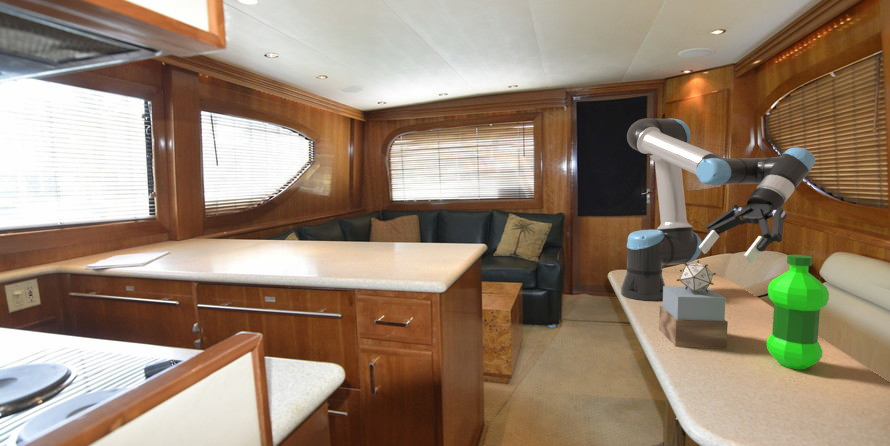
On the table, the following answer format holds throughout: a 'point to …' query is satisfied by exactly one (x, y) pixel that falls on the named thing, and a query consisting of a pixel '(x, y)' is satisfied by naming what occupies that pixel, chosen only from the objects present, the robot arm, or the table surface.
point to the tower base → (693, 331)
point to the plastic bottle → (796, 315)
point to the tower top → (693, 304)
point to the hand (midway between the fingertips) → (723, 254)
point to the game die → (696, 277)
